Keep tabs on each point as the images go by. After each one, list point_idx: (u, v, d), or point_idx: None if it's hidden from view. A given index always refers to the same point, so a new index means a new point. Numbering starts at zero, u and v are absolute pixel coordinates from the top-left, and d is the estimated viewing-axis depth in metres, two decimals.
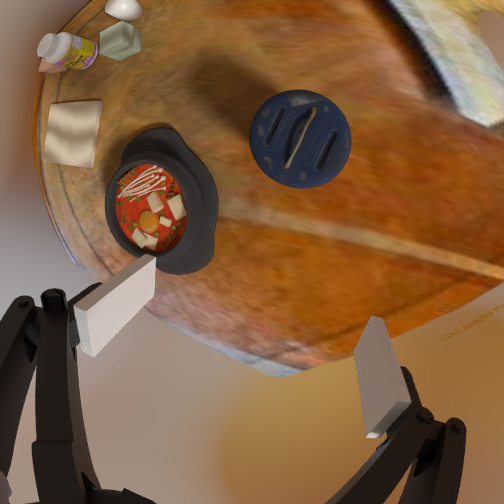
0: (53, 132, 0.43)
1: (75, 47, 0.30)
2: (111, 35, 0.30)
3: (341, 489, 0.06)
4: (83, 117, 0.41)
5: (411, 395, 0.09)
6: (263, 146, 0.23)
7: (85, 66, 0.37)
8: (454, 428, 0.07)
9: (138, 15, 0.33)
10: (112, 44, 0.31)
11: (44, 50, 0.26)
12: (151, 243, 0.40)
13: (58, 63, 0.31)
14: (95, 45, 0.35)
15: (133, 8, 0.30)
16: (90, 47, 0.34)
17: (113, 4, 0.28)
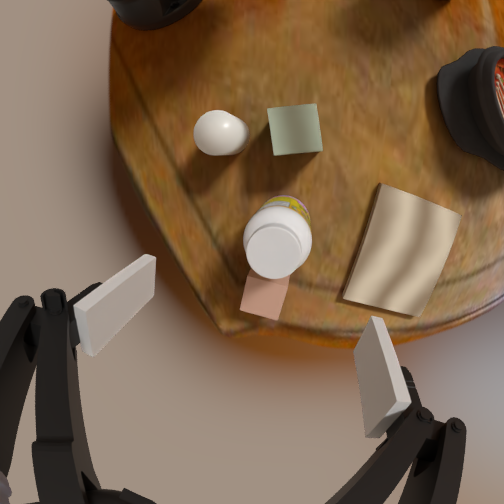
0: (391, 291, 0.34)
1: (287, 205, 0.27)
2: (293, 128, 0.26)
3: (341, 489, 0.06)
4: (397, 219, 0.31)
5: (411, 395, 0.09)
6: None
7: None
8: (454, 428, 0.07)
9: None
10: (314, 122, 0.25)
11: (292, 249, 0.23)
12: None
13: None
14: (274, 197, 0.33)
15: None
16: (282, 197, 0.31)
17: (218, 136, 0.27)
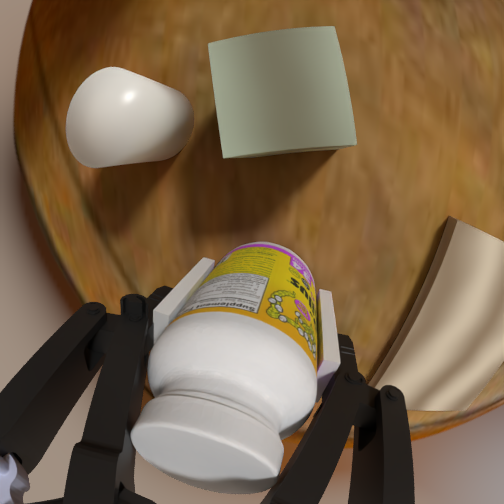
0: (437, 389, 0.17)
1: (259, 296, 0.10)
2: (274, 83, 0.09)
3: (288, 463, 0.07)
4: (471, 285, 0.14)
5: (348, 360, 0.11)
6: None
7: (313, 284, 0.16)
8: (389, 396, 0.09)
9: (178, 91, 0.14)
10: (331, 70, 0.08)
11: (252, 472, 0.06)
12: None
13: None
14: (241, 247, 0.16)
15: None
16: (255, 253, 0.14)
17: (102, 125, 0.10)
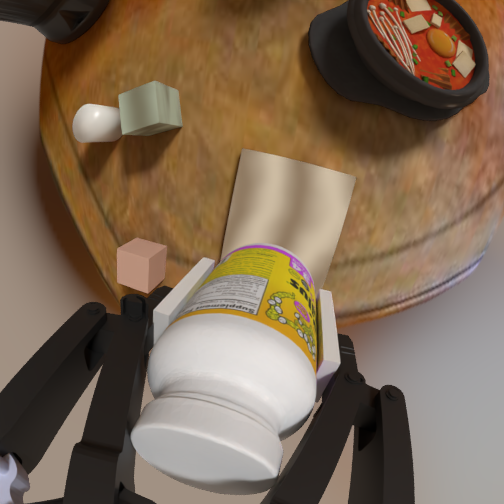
0: None
1: (258, 298, 0.10)
2: (136, 107, 0.25)
3: (288, 463, 0.07)
4: (264, 186, 0.30)
5: (348, 360, 0.11)
6: None
7: (313, 285, 0.16)
8: (389, 396, 0.09)
9: None
10: (152, 98, 0.25)
11: (252, 473, 0.06)
12: (466, 50, 0.16)
13: None
14: (241, 248, 0.16)
15: (106, 106, 0.28)
16: (255, 255, 0.14)
17: (86, 126, 0.27)
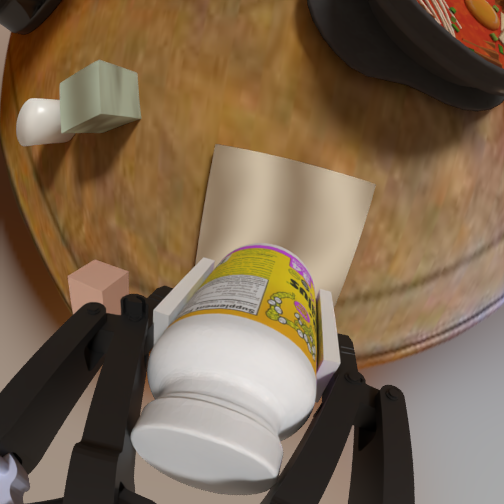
0: None
1: (258, 298, 0.10)
2: (76, 96, 0.16)
3: (288, 463, 0.07)
4: (246, 196, 0.22)
5: (348, 360, 0.11)
6: None
7: (313, 285, 0.16)
8: (389, 396, 0.09)
9: None
10: (94, 83, 0.16)
11: (252, 473, 0.06)
12: None
13: None
14: (241, 248, 0.16)
15: None
16: (255, 255, 0.14)
17: (28, 126, 0.18)
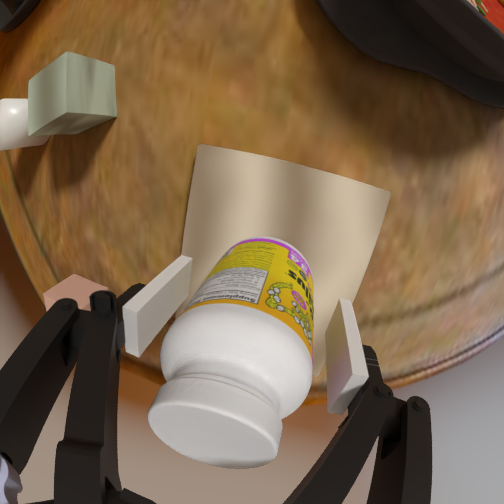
0: None
1: (259, 289, 0.11)
2: (43, 94, 0.13)
3: (309, 472, 0.07)
4: (235, 206, 0.18)
5: (373, 372, 0.11)
6: None
7: (311, 275, 0.17)
8: (415, 407, 0.08)
9: None
10: (61, 77, 0.12)
11: (254, 445, 0.07)
12: None
13: None
14: (243, 242, 0.17)
15: (27, 99, 0.16)
16: (256, 248, 0.16)
17: None
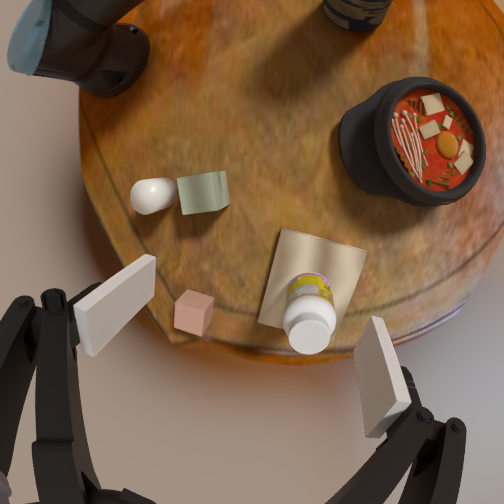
0: None
1: (317, 291, 0.33)
2: (195, 193, 0.35)
3: (341, 489, 0.06)
4: (297, 258, 0.40)
5: (411, 395, 0.09)
6: None
7: None
8: (454, 428, 0.07)
9: (170, 180, 0.41)
10: (210, 188, 0.35)
11: (323, 335, 0.29)
12: (468, 148, 0.25)
13: None
14: (302, 274, 0.39)
15: (160, 180, 0.39)
16: (310, 277, 0.37)
17: (145, 200, 0.37)
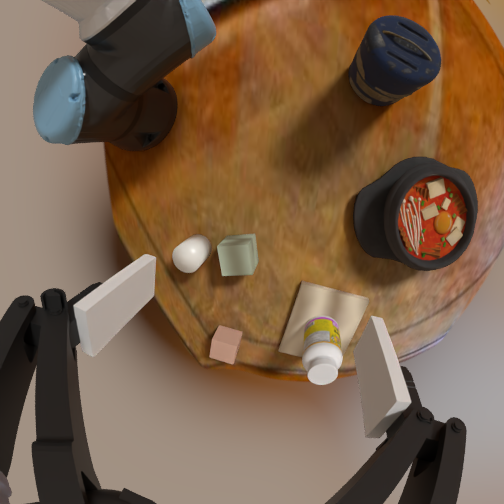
0: None
1: (329, 337, 0.42)
2: (233, 260, 0.43)
3: (341, 489, 0.06)
4: (313, 305, 0.49)
5: (411, 395, 0.09)
6: (418, 71, 0.20)
7: (338, 328, 0.48)
8: (454, 428, 0.07)
9: (205, 238, 0.49)
10: (246, 257, 0.43)
11: (333, 373, 0.38)
12: (460, 224, 0.34)
13: None
14: (316, 318, 0.48)
15: (198, 241, 0.47)
16: (323, 322, 0.46)
17: (187, 261, 0.45)
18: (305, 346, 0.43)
